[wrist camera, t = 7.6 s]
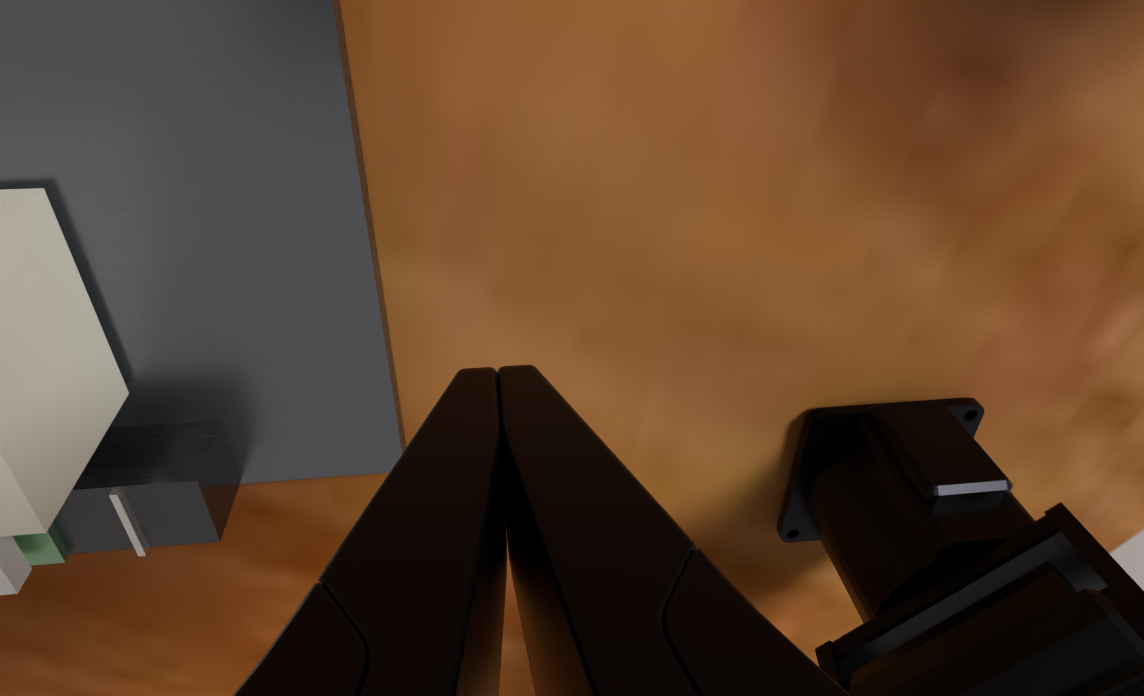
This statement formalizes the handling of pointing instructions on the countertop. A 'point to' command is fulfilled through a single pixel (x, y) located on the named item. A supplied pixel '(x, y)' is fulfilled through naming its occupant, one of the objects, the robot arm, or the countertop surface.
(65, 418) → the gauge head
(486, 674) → the robot arm
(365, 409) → the gauge bench
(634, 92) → the countertop surface
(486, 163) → the countertop surface
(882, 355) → the countertop surface
